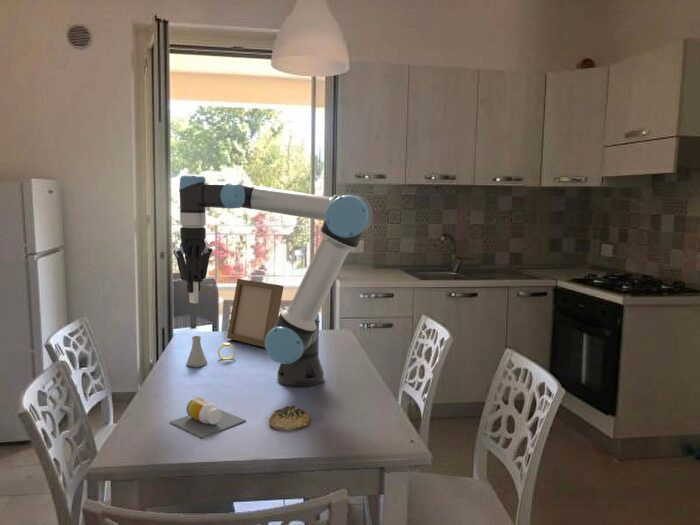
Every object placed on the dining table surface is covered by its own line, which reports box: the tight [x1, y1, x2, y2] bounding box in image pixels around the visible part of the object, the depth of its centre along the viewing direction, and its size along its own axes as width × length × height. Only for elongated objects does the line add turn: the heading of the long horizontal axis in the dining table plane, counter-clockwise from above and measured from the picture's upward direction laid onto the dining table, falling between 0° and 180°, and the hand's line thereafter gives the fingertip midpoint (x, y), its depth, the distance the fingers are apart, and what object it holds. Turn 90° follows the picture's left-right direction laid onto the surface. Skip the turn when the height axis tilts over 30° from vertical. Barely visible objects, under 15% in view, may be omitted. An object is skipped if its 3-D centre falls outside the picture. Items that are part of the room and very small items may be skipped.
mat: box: [169, 408, 247, 439], centre depth 150 cm, size 14×14×1 cm
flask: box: [185, 335, 208, 368], centre depth 199 cm, size 7×7×10 cm
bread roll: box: [268, 404, 311, 431], centre depth 151 cm, size 11×11×5 cm
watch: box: [217, 342, 236, 361], centre depth 206 cm, size 6×3×6 cm, turn 103°
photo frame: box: [226, 278, 285, 348], centre depth 230 cm, size 15×22×25 cm
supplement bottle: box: [185, 396, 221, 424], centre depth 149 cm, size 5×5×10 cm
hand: (193, 302), depth 175 cm, fingers closed
